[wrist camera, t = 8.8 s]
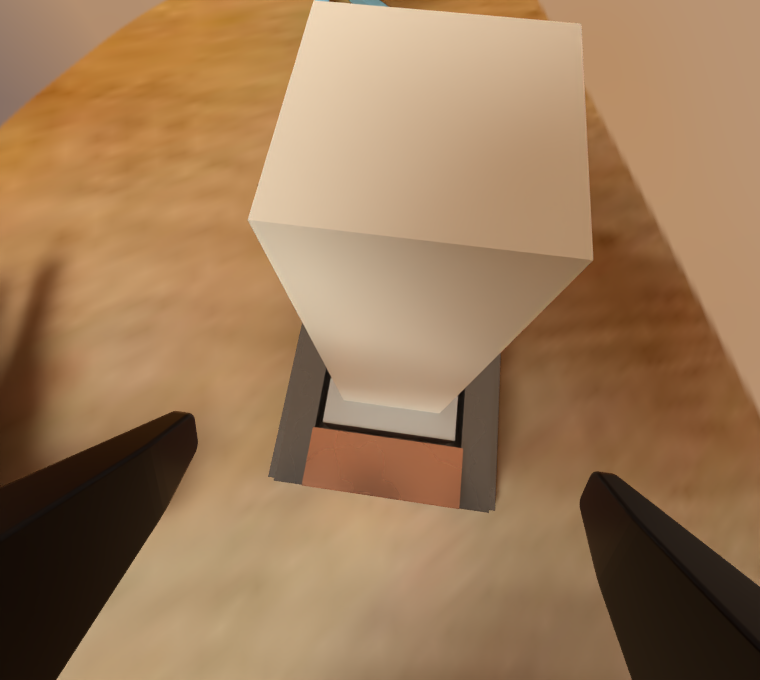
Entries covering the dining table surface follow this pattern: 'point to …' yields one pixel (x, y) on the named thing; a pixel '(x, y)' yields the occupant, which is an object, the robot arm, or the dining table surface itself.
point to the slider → (424, 200)
